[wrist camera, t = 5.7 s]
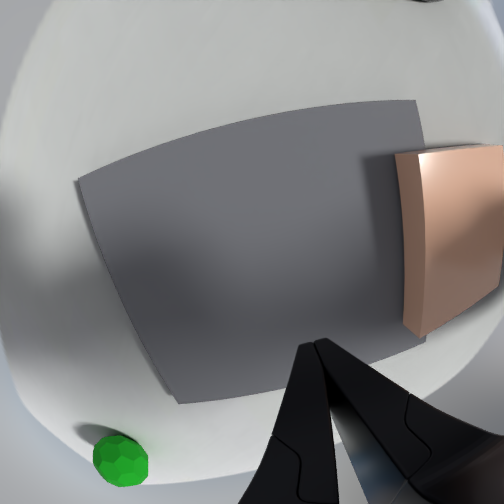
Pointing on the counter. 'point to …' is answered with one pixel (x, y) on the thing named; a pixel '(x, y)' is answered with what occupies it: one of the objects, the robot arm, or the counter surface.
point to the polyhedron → (120, 461)
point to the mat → (260, 244)
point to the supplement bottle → (432, 0)
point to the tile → (450, 230)
